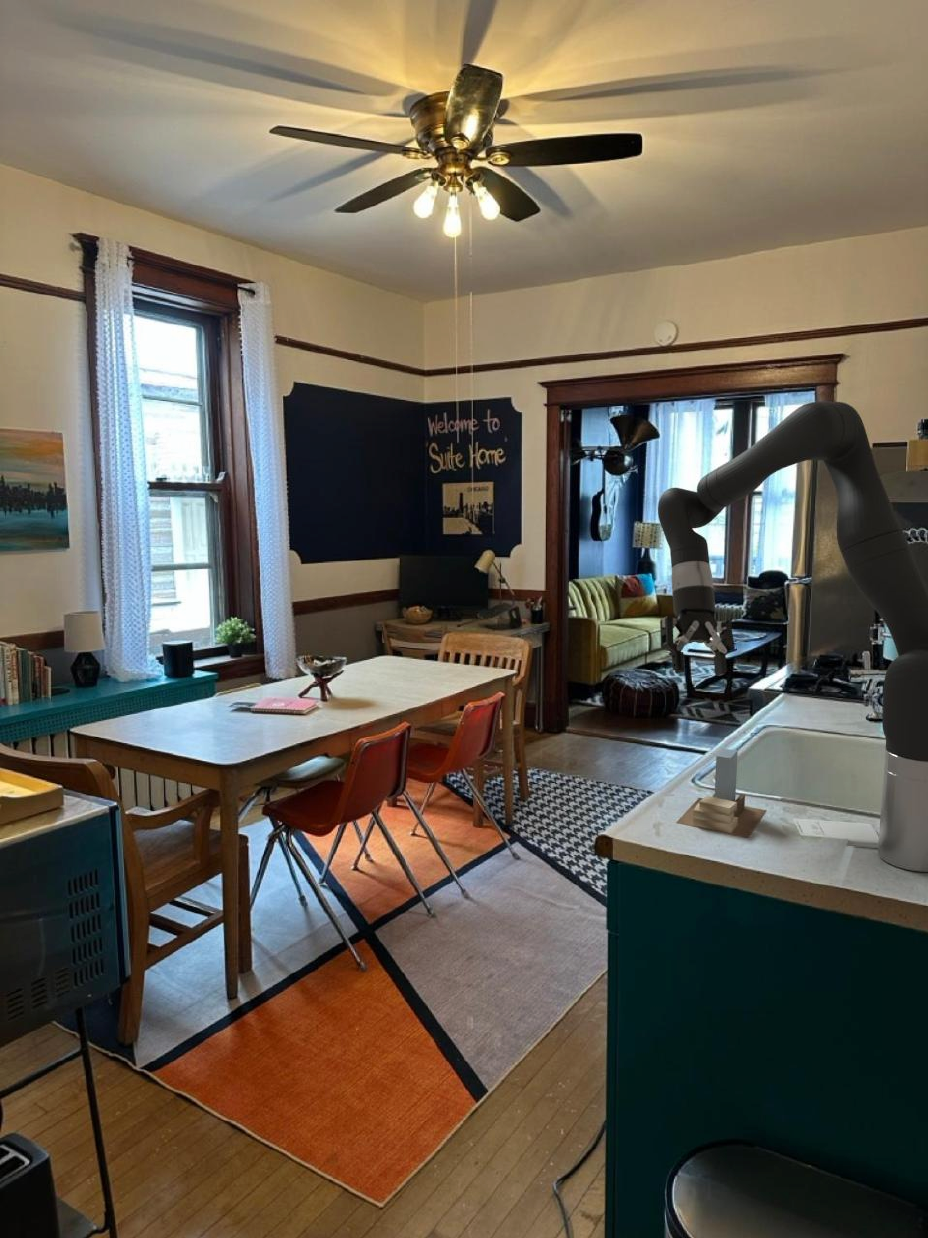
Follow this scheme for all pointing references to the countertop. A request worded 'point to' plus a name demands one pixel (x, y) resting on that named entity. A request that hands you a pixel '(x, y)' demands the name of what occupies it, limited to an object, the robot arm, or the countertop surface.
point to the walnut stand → (745, 815)
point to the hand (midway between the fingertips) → (700, 674)
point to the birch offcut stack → (715, 814)
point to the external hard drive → (840, 831)
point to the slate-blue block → (726, 775)
